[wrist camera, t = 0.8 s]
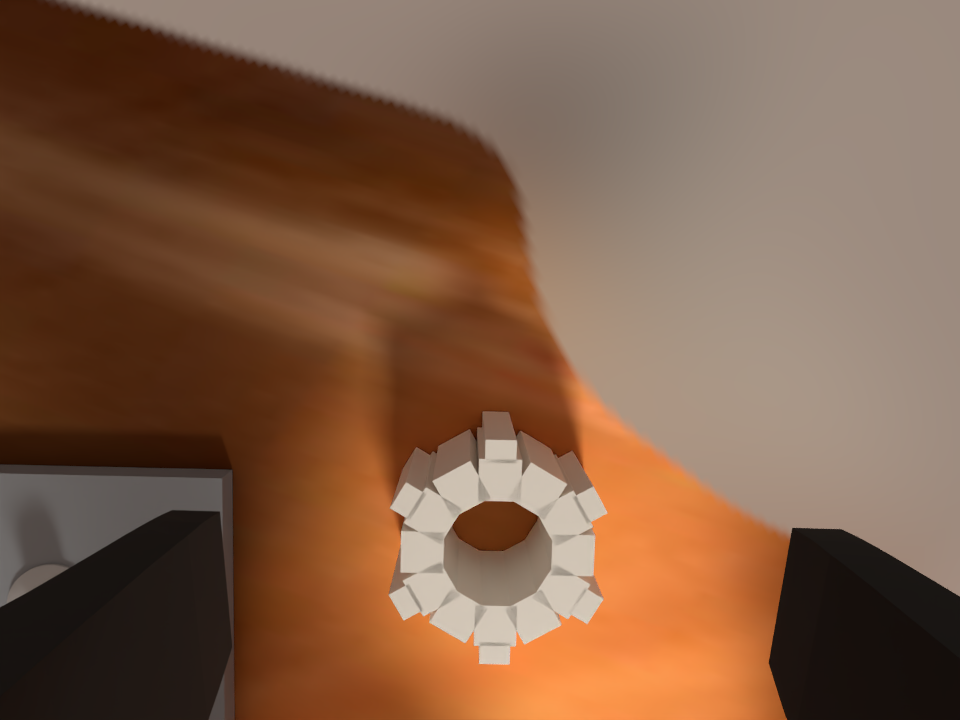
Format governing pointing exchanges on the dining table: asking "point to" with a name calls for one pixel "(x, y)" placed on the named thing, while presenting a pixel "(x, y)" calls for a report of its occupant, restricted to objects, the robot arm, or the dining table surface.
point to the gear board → (101, 524)
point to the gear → (496, 574)
